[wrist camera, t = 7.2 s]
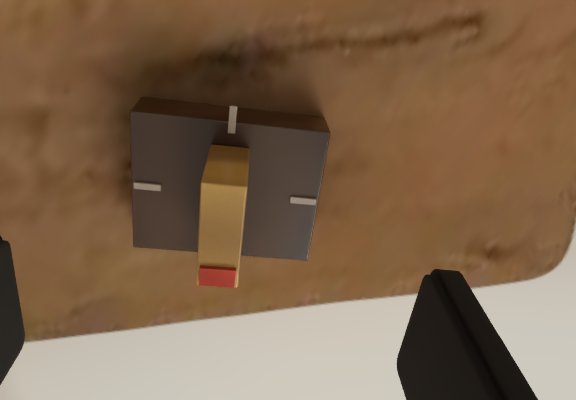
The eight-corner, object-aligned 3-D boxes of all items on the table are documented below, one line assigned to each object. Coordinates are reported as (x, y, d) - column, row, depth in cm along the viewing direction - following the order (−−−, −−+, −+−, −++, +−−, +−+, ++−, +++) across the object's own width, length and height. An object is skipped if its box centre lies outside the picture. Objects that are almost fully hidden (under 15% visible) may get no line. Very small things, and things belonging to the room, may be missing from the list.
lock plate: (327, 102, 26) (333, 117, 24) (302, 249, 31) (305, 274, 28) (140, 80, 25) (128, 94, 23) (142, 236, 30) (132, 261, 27)
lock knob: (210, 143, 24) (199, 184, 20) (249, 147, 24) (247, 189, 20) (205, 235, 27) (195, 288, 23) (241, 238, 27) (237, 291, 23)
